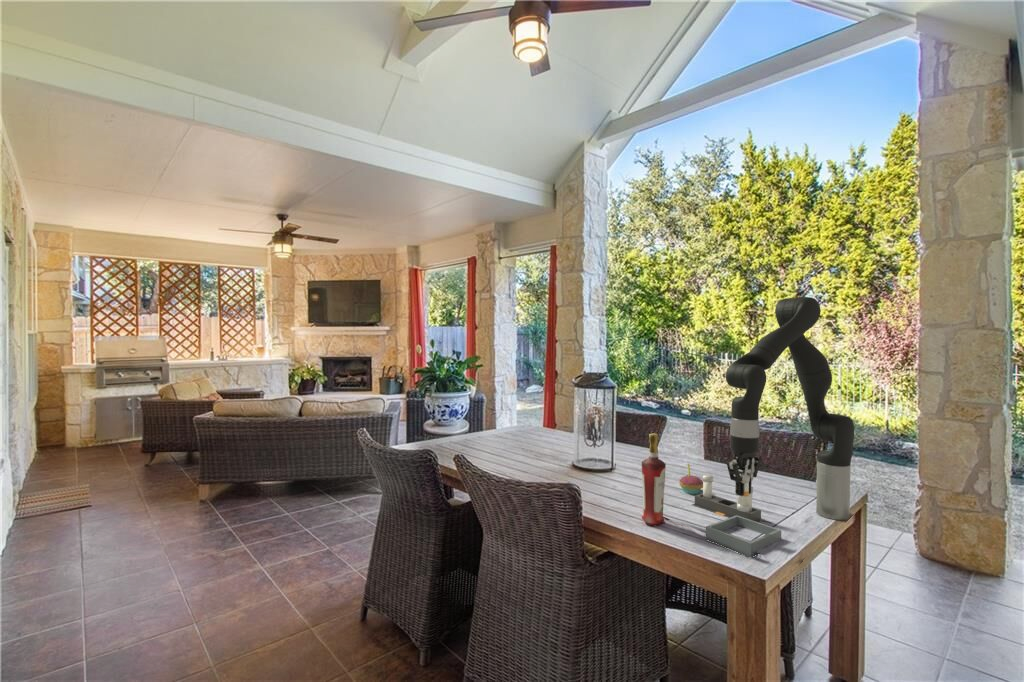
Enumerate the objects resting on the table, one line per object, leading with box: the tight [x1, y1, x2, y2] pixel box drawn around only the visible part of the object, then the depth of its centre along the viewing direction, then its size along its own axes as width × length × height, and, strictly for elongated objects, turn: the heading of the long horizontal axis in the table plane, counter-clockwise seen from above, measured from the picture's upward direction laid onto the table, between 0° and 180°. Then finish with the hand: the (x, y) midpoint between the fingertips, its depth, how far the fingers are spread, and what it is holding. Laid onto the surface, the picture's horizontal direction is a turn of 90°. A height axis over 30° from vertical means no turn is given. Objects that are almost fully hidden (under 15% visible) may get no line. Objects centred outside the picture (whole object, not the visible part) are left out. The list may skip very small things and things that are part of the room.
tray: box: [705, 515, 782, 558], centre depth 142 cm, size 16×14×4 cm
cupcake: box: [678, 462, 703, 495], centre depth 181 cm, size 9×8×12 cm
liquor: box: [641, 433, 667, 526], centre depth 156 cm, size 7×7×28 cm
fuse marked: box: [737, 474, 750, 512], centre depth 141 cm, size 3×3×10 cm
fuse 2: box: [748, 486, 754, 513], centre depth 155 cm, size 3×3×10 cm
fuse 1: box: [702, 474, 714, 500], centre depth 167 cm, size 3×3×10 cm
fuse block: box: [691, 492, 765, 523], centre depth 161 cm, size 8×21×4 cm, turn 34°
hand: (743, 493), depth 141 cm, fingers closed on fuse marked, 3 cm apart
